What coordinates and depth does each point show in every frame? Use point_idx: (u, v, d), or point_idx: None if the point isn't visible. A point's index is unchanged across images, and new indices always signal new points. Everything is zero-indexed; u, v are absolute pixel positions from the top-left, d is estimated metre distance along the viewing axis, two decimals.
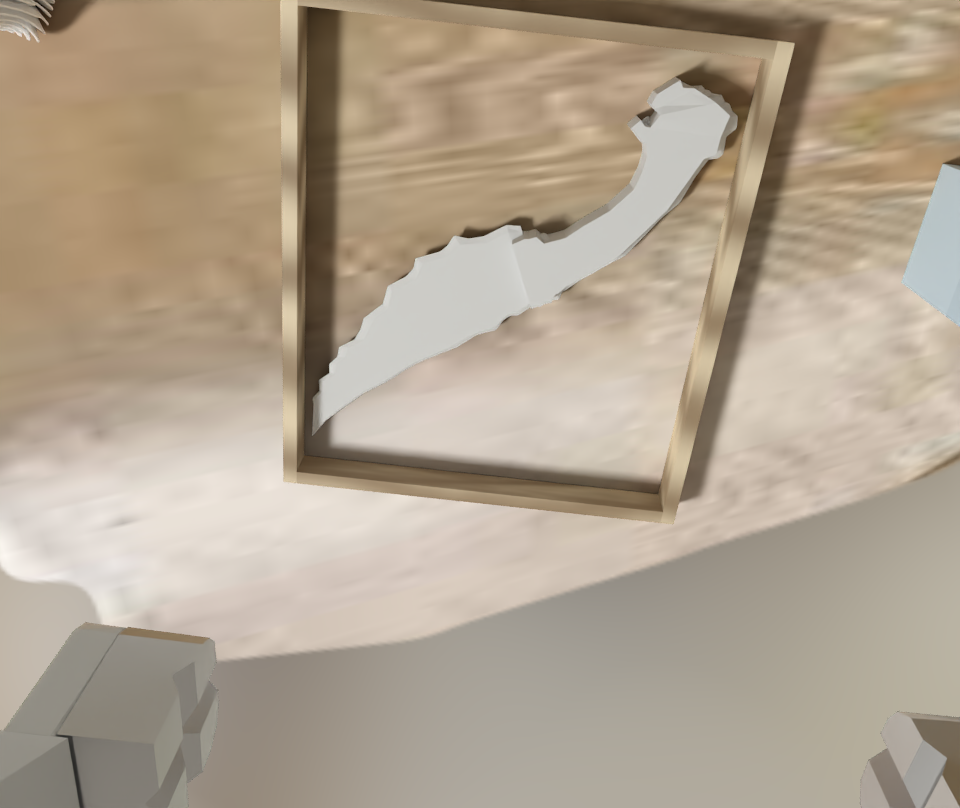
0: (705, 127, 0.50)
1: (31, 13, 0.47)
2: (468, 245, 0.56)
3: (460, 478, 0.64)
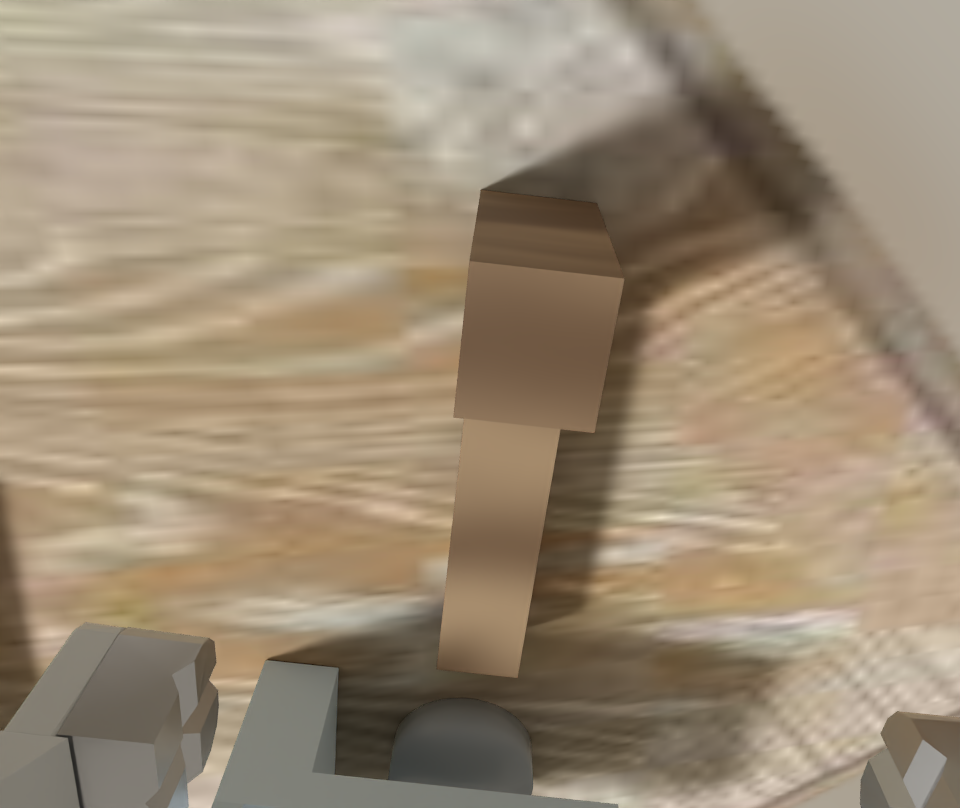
0: None
1: None
2: None
3: None
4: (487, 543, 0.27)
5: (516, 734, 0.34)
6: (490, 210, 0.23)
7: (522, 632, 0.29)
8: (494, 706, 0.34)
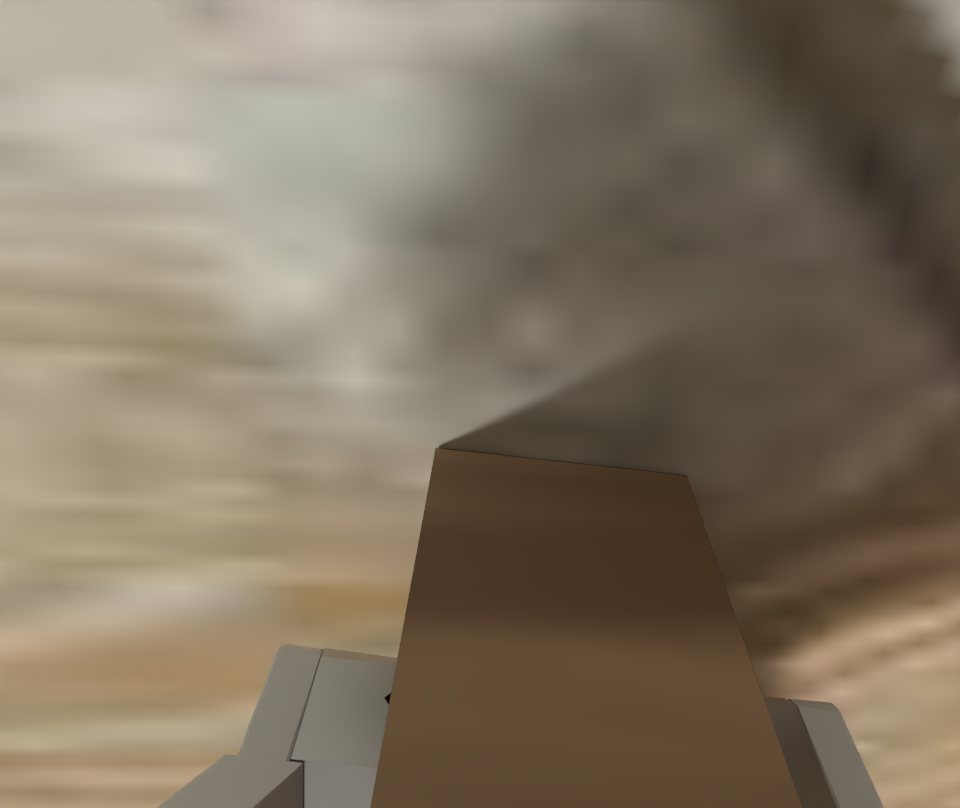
0: None
1: None
2: None
3: None
4: None
5: None
6: (447, 553, 0.09)
7: None
8: None
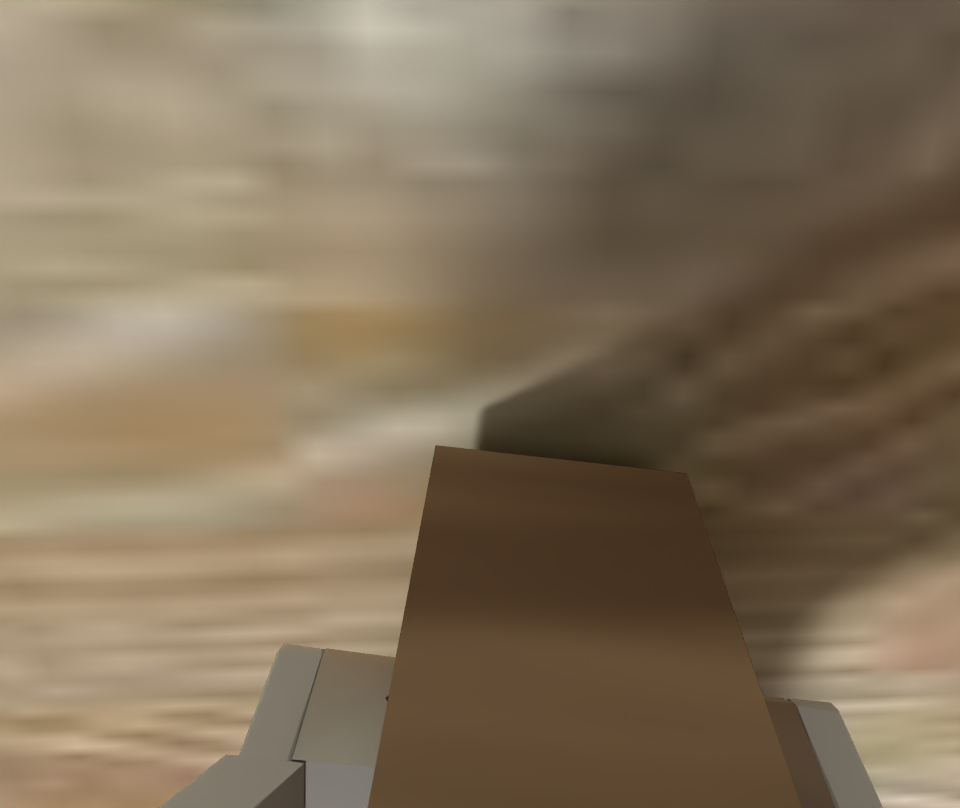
0: None
1: None
2: None
3: None
4: None
5: None
6: (447, 550, 0.09)
7: None
8: None
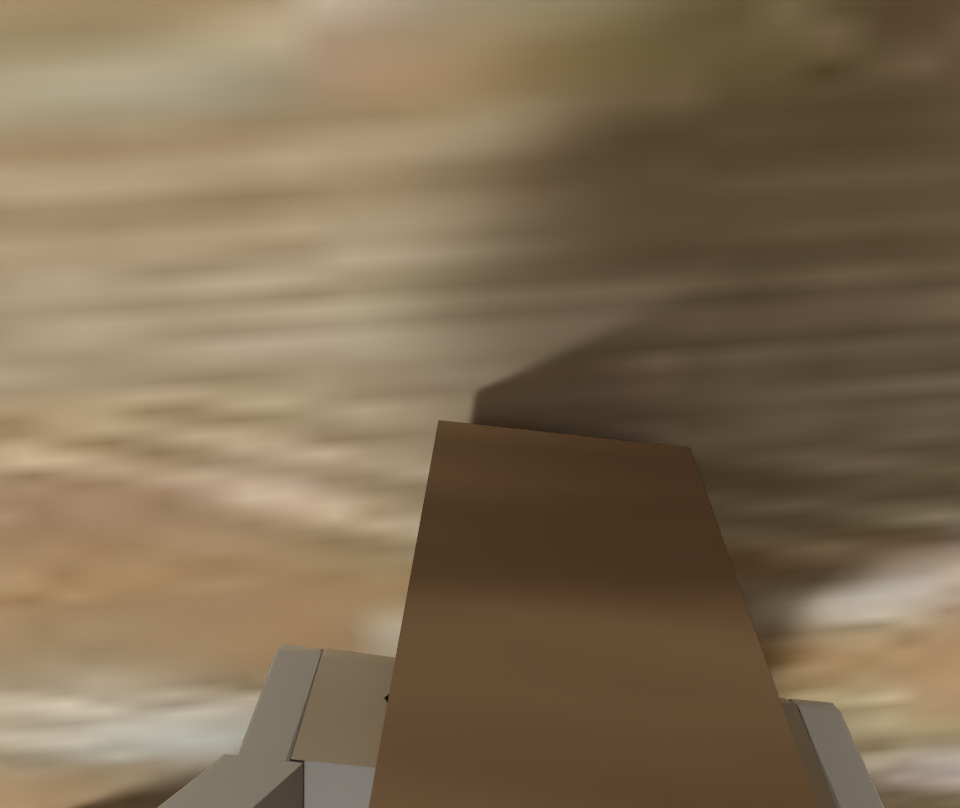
0: None
1: None
2: None
3: None
4: None
5: None
6: (451, 523, 0.09)
7: None
8: None
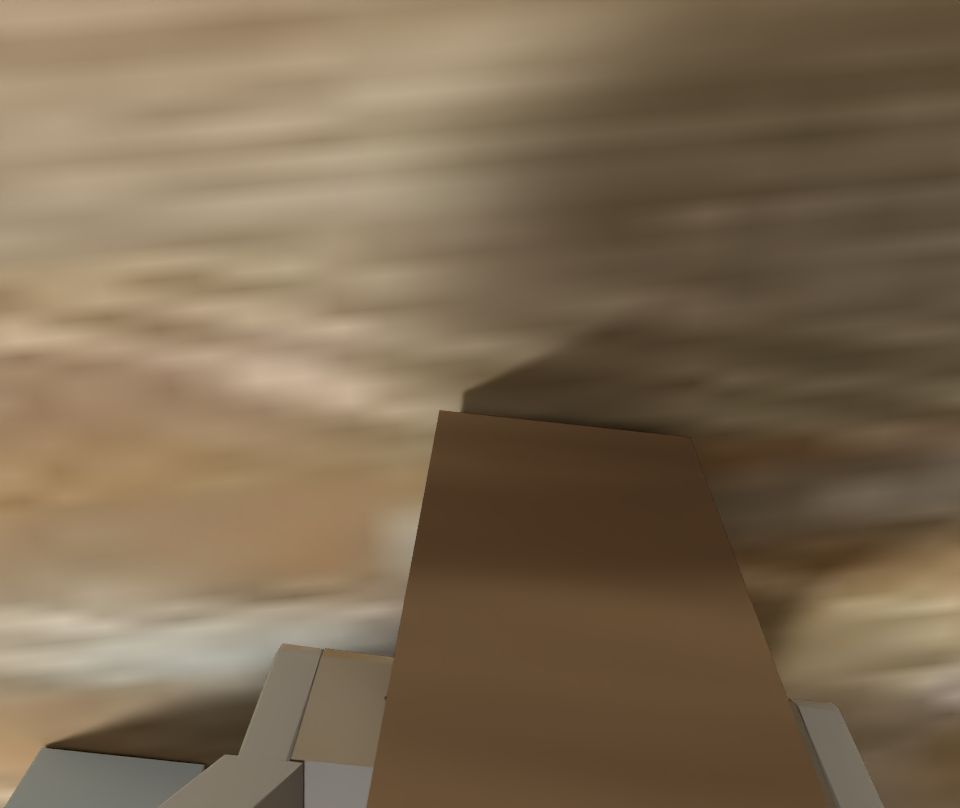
0: None
1: None
2: None
3: None
4: None
5: None
6: (452, 509, 0.09)
7: None
8: None
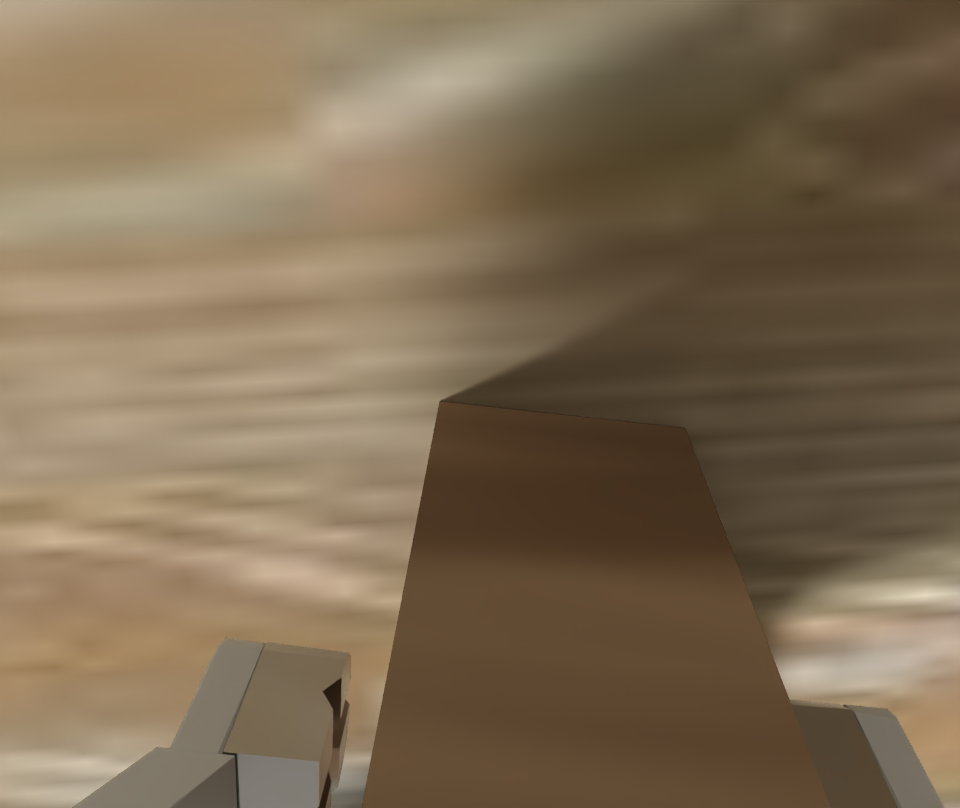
0: None
1: None
2: None
3: None
4: None
5: None
6: (452, 493, 0.10)
7: None
8: None
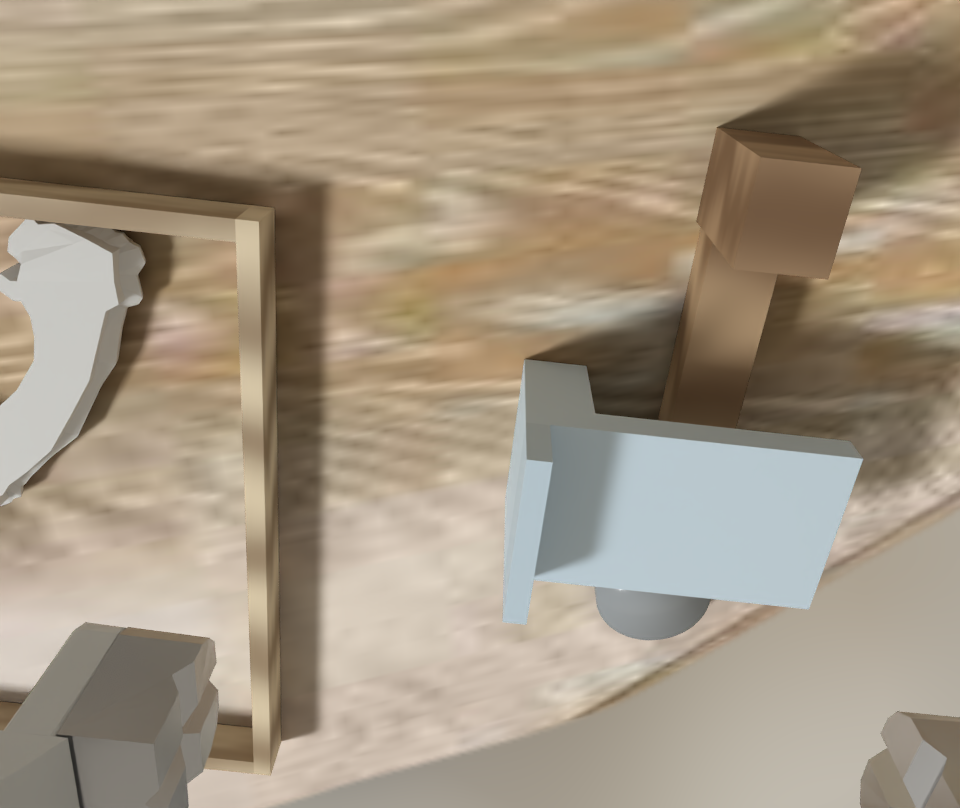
0: (87, 272, 0.36)
1: None
2: None
3: (9, 713, 0.51)
4: (705, 392, 0.37)
5: None
6: (738, 136, 0.32)
7: None
8: None
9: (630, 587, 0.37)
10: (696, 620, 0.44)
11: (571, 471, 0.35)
